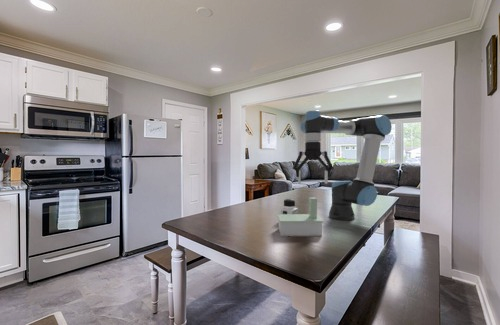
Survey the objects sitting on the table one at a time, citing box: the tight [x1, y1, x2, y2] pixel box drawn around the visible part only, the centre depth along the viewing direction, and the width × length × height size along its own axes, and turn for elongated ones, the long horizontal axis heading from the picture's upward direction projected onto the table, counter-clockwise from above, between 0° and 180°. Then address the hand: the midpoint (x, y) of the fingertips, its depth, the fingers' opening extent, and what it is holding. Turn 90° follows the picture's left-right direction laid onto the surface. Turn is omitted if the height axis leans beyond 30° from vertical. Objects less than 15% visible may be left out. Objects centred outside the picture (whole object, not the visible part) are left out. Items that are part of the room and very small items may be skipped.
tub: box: [278, 220, 323, 238], centre depth 125 cm, size 20×12×7 cm, turn 89°
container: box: [280, 198, 299, 214], centre depth 146 cm, size 8×8×13 cm
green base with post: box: [277, 196, 324, 224], centre depth 125 cm, size 21×13×11 cm, turn 89°
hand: (312, 183), depth 124 cm, fingers open, 13 cm apart
